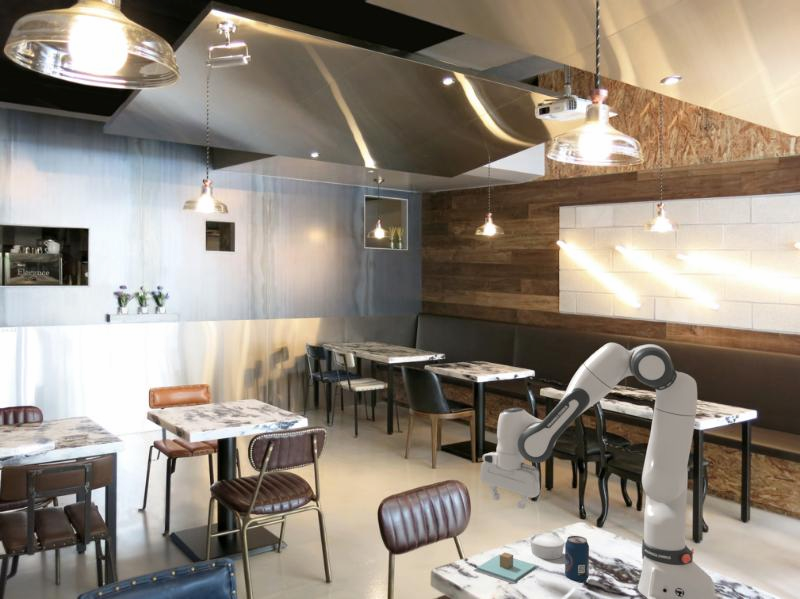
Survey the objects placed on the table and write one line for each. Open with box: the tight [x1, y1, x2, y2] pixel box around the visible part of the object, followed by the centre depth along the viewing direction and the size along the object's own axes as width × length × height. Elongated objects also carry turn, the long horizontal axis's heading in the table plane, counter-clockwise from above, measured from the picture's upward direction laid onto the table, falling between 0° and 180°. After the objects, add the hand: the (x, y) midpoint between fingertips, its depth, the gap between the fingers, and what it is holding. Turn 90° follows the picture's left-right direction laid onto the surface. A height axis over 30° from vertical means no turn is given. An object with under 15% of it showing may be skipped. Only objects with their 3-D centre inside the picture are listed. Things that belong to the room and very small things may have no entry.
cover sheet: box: [476, 552, 536, 581], centre depth 200 cm, size 13×13×4 cm
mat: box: [473, 553, 540, 585], centre depth 200 cm, size 14×16×1 cm
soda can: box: [564, 535, 590, 584], centre depth 195 cm, size 7×7×12 cm
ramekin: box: [529, 533, 566, 560], centre depth 212 cm, size 11×11×5 cm
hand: (508, 503), depth 201 cm, fingers open, 8 cm apart
